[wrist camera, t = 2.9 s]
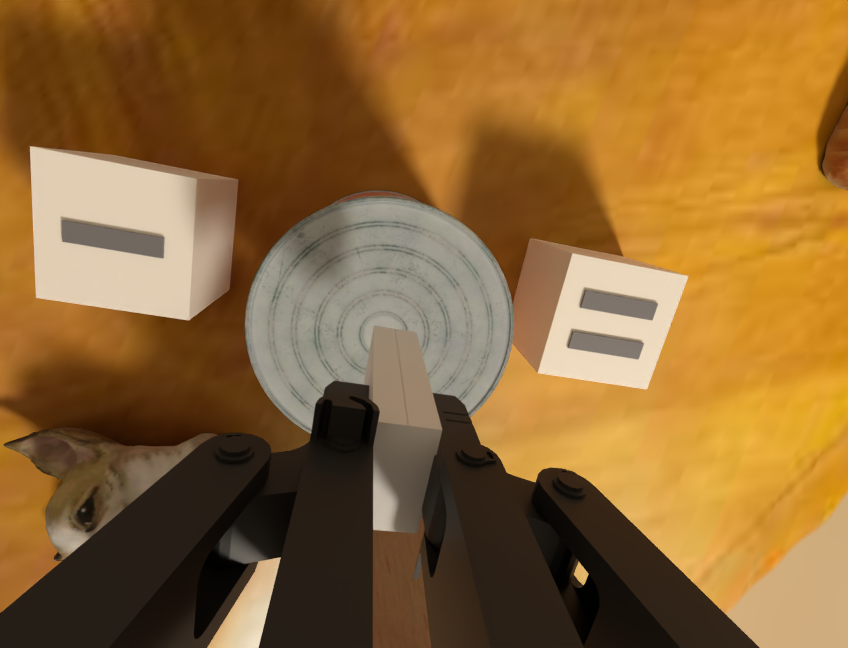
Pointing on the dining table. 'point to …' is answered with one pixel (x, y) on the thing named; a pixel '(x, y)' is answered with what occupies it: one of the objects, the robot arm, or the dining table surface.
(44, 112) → the dining table surface
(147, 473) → the ceramic sculpture
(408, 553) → the block
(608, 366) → the marked cube 1
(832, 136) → the pastry
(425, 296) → the canned food
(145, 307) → the marked cube 2
